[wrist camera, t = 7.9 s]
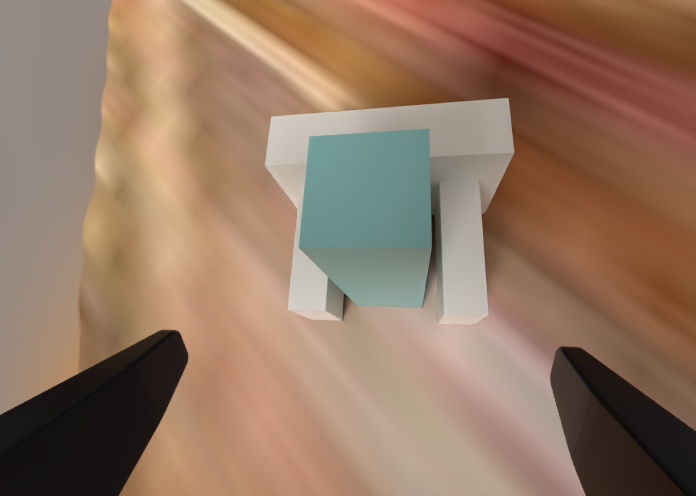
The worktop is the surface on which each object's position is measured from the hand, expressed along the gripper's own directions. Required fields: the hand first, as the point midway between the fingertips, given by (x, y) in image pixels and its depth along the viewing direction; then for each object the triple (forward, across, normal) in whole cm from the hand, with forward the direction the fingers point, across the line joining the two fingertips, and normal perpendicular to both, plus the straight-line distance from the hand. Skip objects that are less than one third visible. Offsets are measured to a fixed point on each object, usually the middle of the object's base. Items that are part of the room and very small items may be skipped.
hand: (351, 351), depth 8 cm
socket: (+14, 0, +4) cm, 15 cm away
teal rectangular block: (+13, 0, +6) cm, 14 cm away
